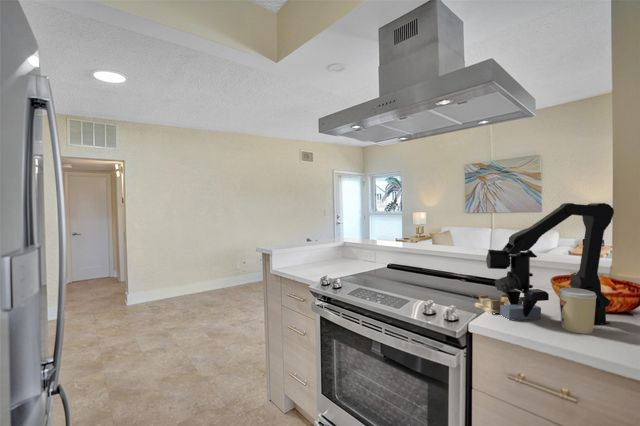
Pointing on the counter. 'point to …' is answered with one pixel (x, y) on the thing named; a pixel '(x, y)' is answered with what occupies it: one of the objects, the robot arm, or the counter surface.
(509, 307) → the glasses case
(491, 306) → the display stand
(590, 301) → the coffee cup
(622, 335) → the counter surface
